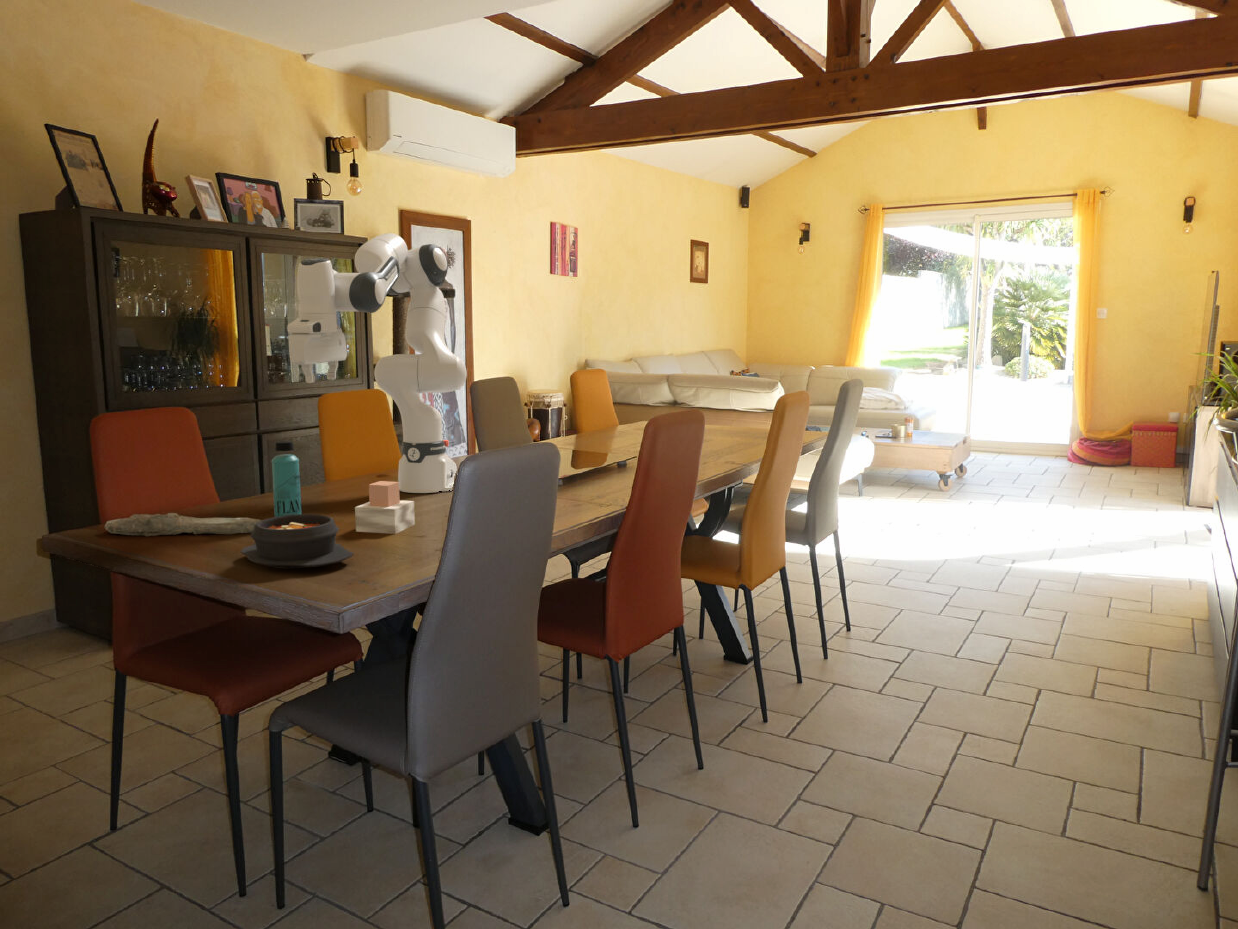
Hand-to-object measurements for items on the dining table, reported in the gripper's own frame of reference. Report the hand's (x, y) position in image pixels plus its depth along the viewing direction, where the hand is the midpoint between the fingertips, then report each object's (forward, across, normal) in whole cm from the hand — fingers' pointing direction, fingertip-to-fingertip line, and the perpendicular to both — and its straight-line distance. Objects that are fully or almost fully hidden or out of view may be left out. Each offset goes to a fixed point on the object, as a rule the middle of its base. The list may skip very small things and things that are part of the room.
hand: (321, 381), depth 225 cm
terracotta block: (+27, +13, +23) cm, 38 cm away
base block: (+33, +13, +23) cm, 43 cm away
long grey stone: (+34, +28, -20) cm, 48 cm away
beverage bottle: (+33, +14, -2) cm, 36 cm away
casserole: (+33, +45, +20) cm, 59 cm away
